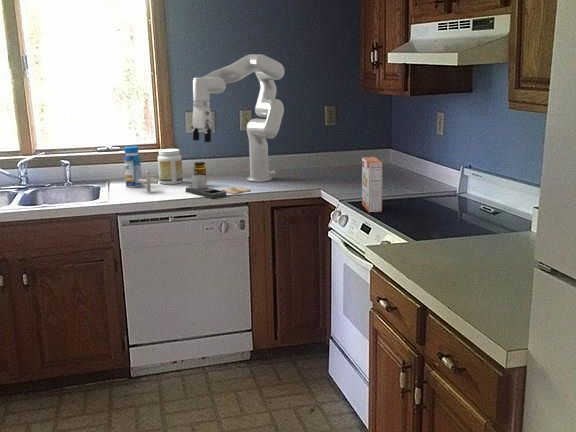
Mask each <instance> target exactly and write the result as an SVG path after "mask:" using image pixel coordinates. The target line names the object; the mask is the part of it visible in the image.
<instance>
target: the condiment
mask: <svg viewBox="0 0 576 432" xmlns="http://www.w3.org/2000/svg"><path fill="white" fill-rule="evenodd" d="M205 162H206V161H195V162H194V167H193V176H196V175H204V176H206V177H207V168H206V163H205ZM188 187H192V184H189V185H188ZM207 187H210V185H208V184H207Z"/></svg>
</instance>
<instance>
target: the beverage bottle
mask: <svg viewBox="0 0 576 432" xmlns="http://www.w3.org/2000/svg"><path fill="white" fill-rule="evenodd" d="M123 150H124V154H125V156H124V158H123V162H124V165H123V168H124V174H125V175H124V177H125V178H124V179H125V187H127V188H138V187H142V186H143V185H142V184H141V183H138V180H139V179H142V178H143V175H142V163H141V160H142V159H141V157H140V155H139V146H138V145H127V146H125V147H124V148H123Z"/></svg>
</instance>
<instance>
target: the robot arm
mask: <svg viewBox="0 0 576 432" xmlns="http://www.w3.org/2000/svg"><path fill="white" fill-rule="evenodd" d="M252 73H255V76H256V78H257V80H258V83H259V92H258V96H257V100H256V104H255V107H254V111H255V112H254V113H255V114H256V116H258V117H260V118H252V119H250V120H249V121H248V122H247V124H246V133H247V134H246V135H247V138H248V147H249V173H250V174H249V176H248V177H247V181H248V182H256V183H259V182H260V183H261V182H262V183H263V182H270V181H272V179H273V177H272V175H276V170H269V147H268V145H269V144H268V141H267V139H274V138H275V137H277V135H278V133H279V131H280V128H281V125H282V120H283V118H284V117H283V116H284V112H285V107H284V103H283V102H282V101H281V100H280V99H278V98H277V99H276V95H277V86H276V82H275V81H278V80H281V79H282V78H283V77H284V76H285V67H284V66H283V64H282V63H281V62H279V61H278V60H275V59H273V58H271V57H269V56H267V55H265V54H261V53H259V54H258V53H257V54H255V53H254V54H251V53H250V54H246V55H244V56H243V57H241V58H240V59H238V60H236V61H234V62H233V63H231V64H229V65H226V66H224V67H222V68H219V69H216V70H215V69H214V70H213V71H211V72H209V73H207V74H206V75H204V76H203V77H199V76H198V77H194V78H193V80H192V103H193V104H192V105H193V106H192V121H191V122H190V126H191V127H190V128H191V131H192V141H200V130H203V131H204V143H211V141H212V138H211V137H212V131H213V128H214V124H213V119H212V111H211V107H210V94H221V93H223V92H224V91H225V90H226V87H227V84H230V83H232V84H233V83H235V82H239V81H241V80H242V79H243V78H246V77H247V76H249V75H250V74H252Z"/></svg>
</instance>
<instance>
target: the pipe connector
mask: <svg viewBox="0 0 576 432" xmlns="http://www.w3.org/2000/svg"><path fill="white" fill-rule="evenodd" d="M150 175H151V174H150V171H149V170H145V179H139V180H138V183H141V184H142V186H144V185H146V192H147V193H150V192H151V191H152V190H151V189H152V188H151V185H152V184H154V185H155V184H158V183H159V179H158V180H157V179H156V178H155V177H151V176H150ZM150 177H151V178H150Z"/></svg>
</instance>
